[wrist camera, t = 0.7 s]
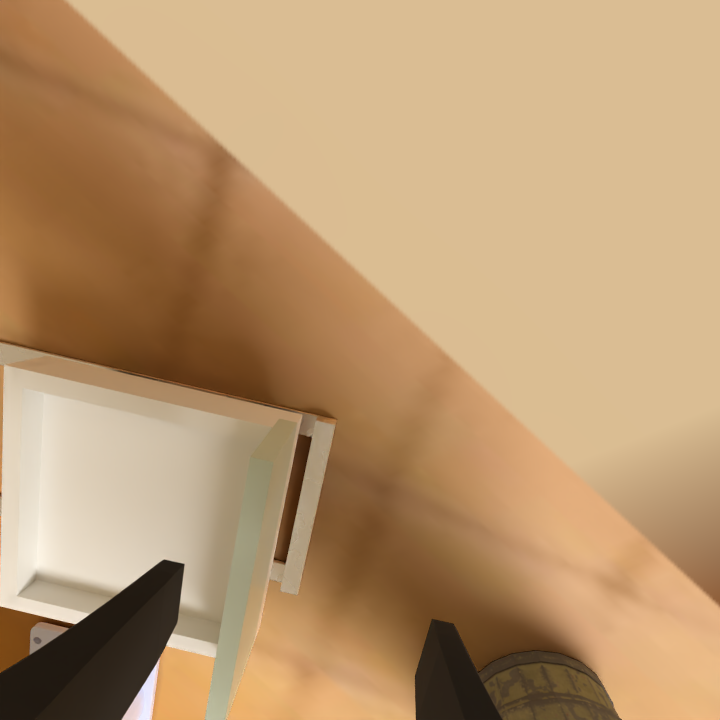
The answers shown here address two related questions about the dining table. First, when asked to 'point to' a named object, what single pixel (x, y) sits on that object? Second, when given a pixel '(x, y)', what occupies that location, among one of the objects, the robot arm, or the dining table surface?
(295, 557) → the track
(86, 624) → the robot arm
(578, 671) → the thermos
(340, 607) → the dining table surface
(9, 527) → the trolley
